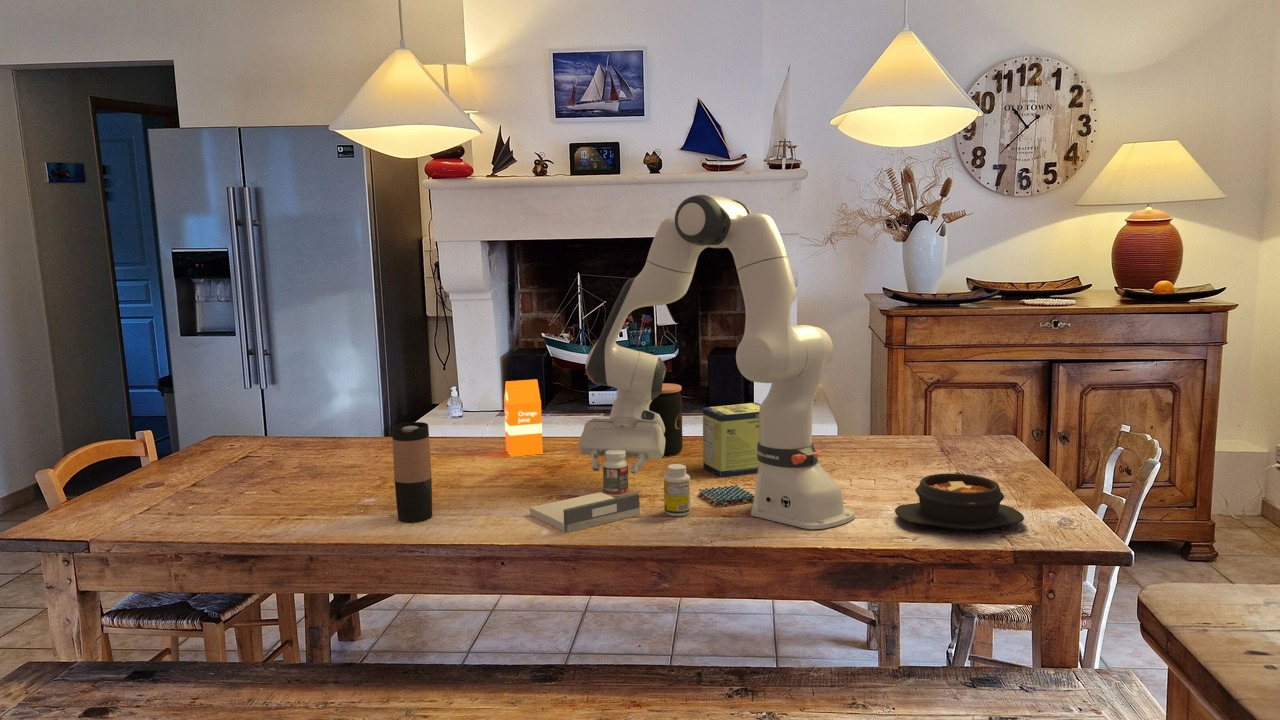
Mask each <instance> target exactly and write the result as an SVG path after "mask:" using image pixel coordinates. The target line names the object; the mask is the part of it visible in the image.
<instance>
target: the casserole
mask: <svg viewBox="0 0 1280 720" xmlns="http://www.w3.org/2000/svg"><path fill="white" fill-rule="evenodd" d="M915 493H916V495H917V496H918V500H919V502H913V503H906V504H899V505H898V506H897V507H895V510H894V512H895V514H896V516H897V517H899V518H900V519H902V520H904V521H905V522H908V523H910V524H916V525H925V526H934V527H938V528H941V529H945V530H950V531H958V530H959V531H961V532H962V531H963V532H967V531H968V532H971V531H982V530H984V529H992V528H996V527H1000V526H1004V525H1006V526H1008V525H1016V524H1019V523H1021V522H1024V520H1025V516H1024V515H1023V514H1022V513H1021V512H1020V511H1019V510H1017V509H1016V508H1013V507H1012V506H1009V505H1006V504H1001V502H1002V501H1003V500H1004V498H1005V495H1004V493H1003V492H1002V491H1001V488H1000V485H999V484H998V482H996V481H994V480H992V479H990V478H987V477H983V476H979V475H972V474H967V473H966V474H965V473H936V474H931V475H930V474H929V475H927V476H924V477H922V478H921V479H920V481H919V484H918V486H917V487H916V488H915Z"/></svg>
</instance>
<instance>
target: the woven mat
mask: <svg viewBox="0 0 1280 720" xmlns="http://www.w3.org/2000/svg"><path fill="white" fill-rule="evenodd" d="M698 491H699V493H698V494H697V496H698V497H702V498H701V499H703V500H705V502H706V503H709V504H712V506H714V507H715V508H724V507H731V505H732V506H737V505H744V504H745V505H746V504H752V502H753V499H754V494H753V493H751V492H750V491H748V490H745V489H744V488H742V487H741V486H739V485H733V484H731V485H730V486H727V485H724V486H723V487H721V486H718V487H716V488H715V487H711V488H705V489H701V488H699V489H698ZM706 500H707V501H706Z"/></svg>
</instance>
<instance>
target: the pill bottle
mask: <svg viewBox="0 0 1280 720" xmlns="http://www.w3.org/2000/svg"><path fill="white" fill-rule="evenodd" d="M604 457H605V460H604V461H603V463H602V475H603V476H602V478H603V479H602V480H603V481H602V483H603V486H602V487H603V493H604V494H606V495H609V496H611V497H614V498H617V497H621V496H626V495H629V464H628V461H627V460H626V459H625V458H627V457H626V453H625V451H624V450H608V451H606V452H605V456H604Z"/></svg>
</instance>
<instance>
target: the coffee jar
mask: <svg viewBox="0 0 1280 720" xmlns="http://www.w3.org/2000/svg"><path fill="white" fill-rule="evenodd" d="M681 391H682V385H680V384H677V383H669V382H668V383H664V382H663V383H662V391H661V394H660V395H659V396H657V397H656V398H655V399H653V400H652V402H651V403H650V405H649V411H652V412H655V413H657V414H659V415H660V417H661V419H662V421H663V423H664V426H665V433H664V437H665V450H664V455H663V456H666V457H671V456H670V455H674V456H676V455H675V454H677V455H679V454H681V451H682V450H683V396H682V394H681ZM678 453H679V454H678Z"/></svg>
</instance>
